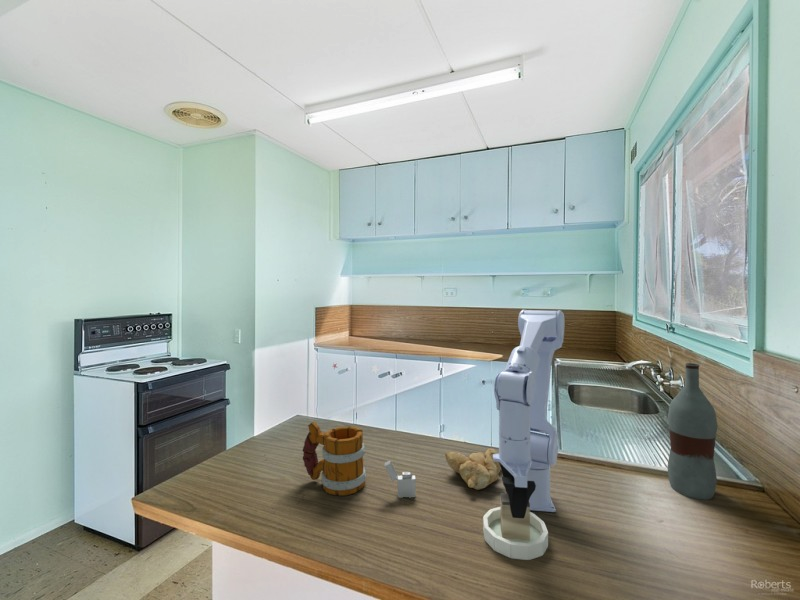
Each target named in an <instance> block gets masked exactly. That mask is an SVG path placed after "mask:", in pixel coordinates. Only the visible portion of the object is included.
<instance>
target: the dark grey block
mask: <svg viewBox="0 0 800 600" xmlns="http://www.w3.org/2000/svg"><path fill="white" fill-rule="evenodd" d="M499 495H500V497H499V498H500V502H499V503H500V506H499V507H500V528H501V534H502V538H506V539H516V540H526V541H530V512H531V510H530V503H529V502H528V505H527V510H526V514H525V517H524V518H513V517H512V514H511V510H510V504H509V497H508V493H506V492H500V493H499Z"/></svg>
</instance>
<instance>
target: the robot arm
mask: <svg viewBox="0 0 800 600" xmlns="http://www.w3.org/2000/svg"><path fill="white" fill-rule="evenodd" d="M517 319H518V320H517V327H518V331H519V335H520V338H521V339H520V344H519V346H516V347H514V348H513V349H512V350H511V353H510V356H509V358H508V359H507V360H508V361H507V362H506V366H505V367H504V370H502V371H501V372H498V373H497V374H496V375H495V380H494V386H493V387H494V388H493V392H494V397H495V398H494V399H495V401H496V402H495V404H496V405H495V406H496V407H495V408H496V410H498V454H493V461H495V462H499V464H500V471H501V472H502V473H501V474H502V477H501V481H502V484H503V486H504V487H503V488H504V489H505V493H508V497H509V504H510V510H511V514H512V517H513V518H524V517H525V514H526V510H527V505H528V502H529V503H530V511H537V512H548V513H550V512H551V513H555V512H557V511H556V506H555V505H554V501H552V498H551V467H554V465H556V463H557V460H558V453H559V442H558V437H559V434H558V432H557V428H556V427H555V426H553V425H552V424H551V422H549V421H548V420H547V412H548V404H549V403H548V401H549V390H550V381H551V380H550V379H551V371H552V363H553V357H554V355H555V351H557V350H559V349H560V348H563V343H564V337H565V314H564V312H563V311H562V310H561V309H560V310H535V309H534V310H533V309H528V310H527V309H521V311H520V312H519V313H518V318H517Z"/></svg>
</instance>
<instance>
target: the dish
mask: <svg viewBox="0 0 800 600" xmlns="http://www.w3.org/2000/svg"><path fill="white" fill-rule="evenodd" d="M482 531H483V540H484V541H485V542H486V543H487V544H488V545H489V547H490V548H491V549H492V550H493V551H494V552H496V553H498V554H501V555H502V556H505V557H507V558H509V559H513V560H514V559H515V560H523V561H531V560H533V559H536V558H537V559H538V558H540V557H542V556H543V555H544V554H545V553H546V551H547V549H548V547H549V530H548V529H547V526H546V523H545V521H544V520H542V519H541V518H540V517H539V516H538V515H536V514H535V512H531V511H530V541H526V540H516V539H506V538H502V534H501V528H500V506H497V507H494V508H490V509H489V510H488V511H487V512H486V513H485V514H484V515H483V517H482Z"/></svg>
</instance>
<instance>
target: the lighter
mask: <svg viewBox="0 0 800 600" xmlns="http://www.w3.org/2000/svg"><path fill="white" fill-rule="evenodd" d="M384 468H385V469H386V472H387V473H388V476H389V478H390V479H391V482H395V481H396V480H397V498H398V499H403V497H409V498H411V497H415V498H416V489H417V488H416V486H417V485H416V480H417V479H416V475H413V474H412V473H411V472H410V471H402V474H401V475H398V473H397V472H396V469H395V467H394V465H393V463H392V461H391V460H388V461H386V462H384ZM409 498H408V499H409Z"/></svg>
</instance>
